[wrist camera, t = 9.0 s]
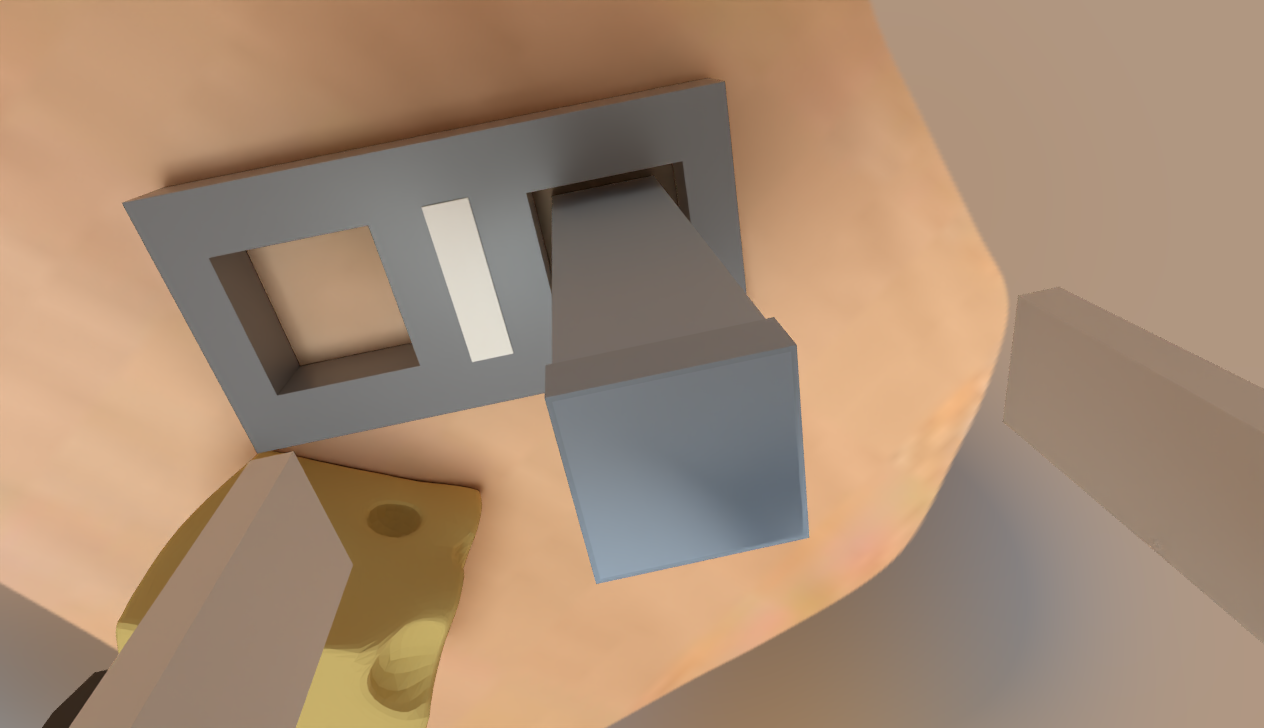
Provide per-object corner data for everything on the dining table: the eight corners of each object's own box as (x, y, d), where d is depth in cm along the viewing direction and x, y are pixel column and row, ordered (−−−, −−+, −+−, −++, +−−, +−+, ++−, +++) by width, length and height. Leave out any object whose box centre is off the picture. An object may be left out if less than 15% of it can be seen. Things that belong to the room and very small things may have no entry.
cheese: (486, 484, 30) (458, 666, 21) (438, 643, 35) (398, 851, 26) (247, 435, 28) (104, 618, 19) (226, 613, 32) (101, 831, 23)
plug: (548, 194, 25) (545, 397, 10) (655, 172, 25) (796, 345, 11) (572, 295, 27) (596, 583, 12) (671, 274, 27) (808, 537, 12)
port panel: (163, 187, 23) (120, 203, 21) (708, 77, 24) (725, 81, 21) (281, 420, 28) (256, 454, 25) (736, 324, 28) (752, 350, 26)
